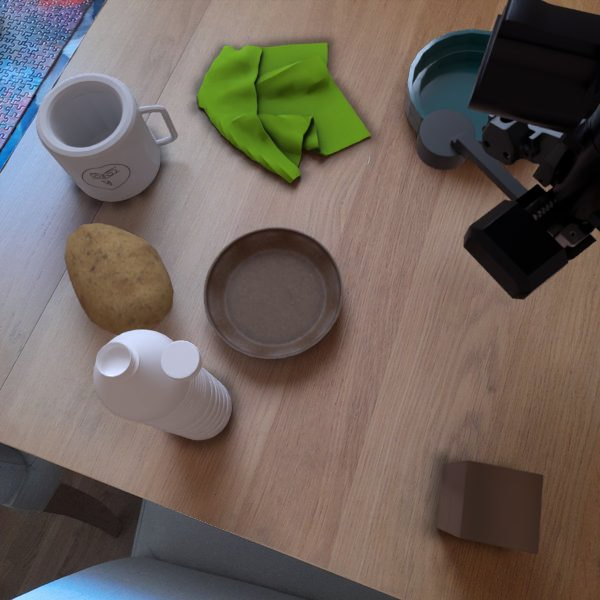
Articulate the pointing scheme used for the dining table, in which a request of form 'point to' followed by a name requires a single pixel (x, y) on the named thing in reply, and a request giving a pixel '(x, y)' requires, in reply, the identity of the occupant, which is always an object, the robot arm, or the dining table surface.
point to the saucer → (273, 293)
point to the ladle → (461, 149)
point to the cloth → (279, 104)
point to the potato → (118, 278)
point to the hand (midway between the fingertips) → (546, 239)
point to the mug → (101, 136)
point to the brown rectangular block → (491, 505)
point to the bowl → (446, 77)
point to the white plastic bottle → (161, 385)
